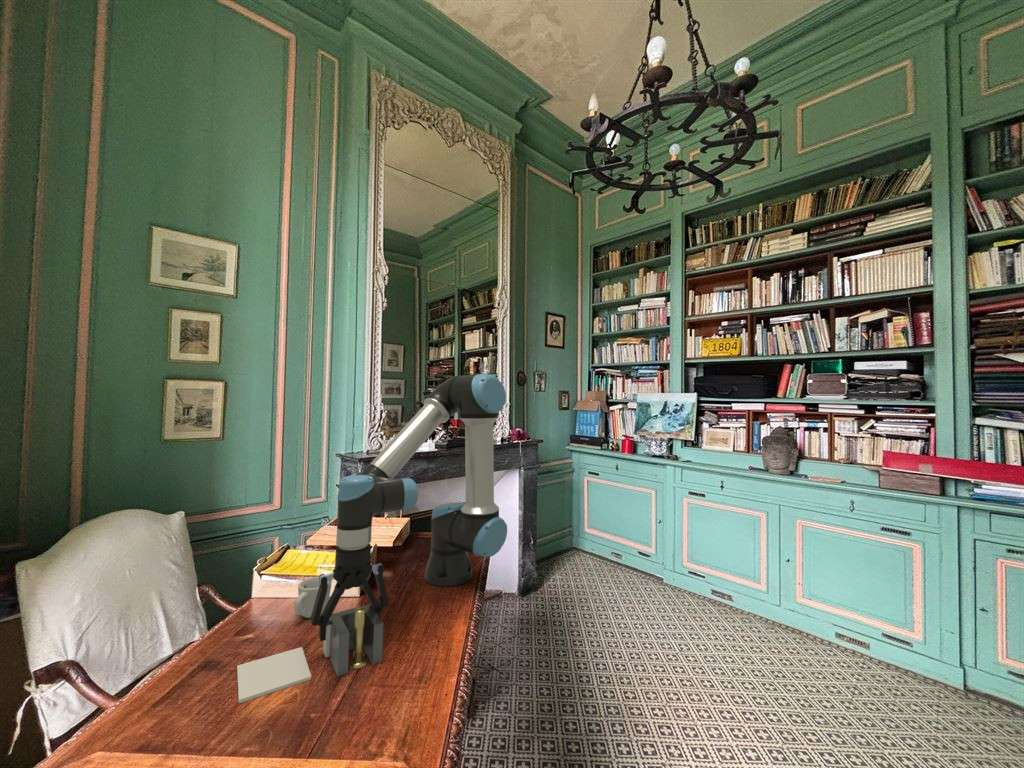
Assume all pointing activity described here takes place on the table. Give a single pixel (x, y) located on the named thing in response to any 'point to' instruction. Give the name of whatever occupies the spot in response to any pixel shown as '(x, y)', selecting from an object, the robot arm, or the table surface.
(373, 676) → the table surface
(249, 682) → the pad
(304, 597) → the cup
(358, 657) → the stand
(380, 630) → the grey u-shaped block
